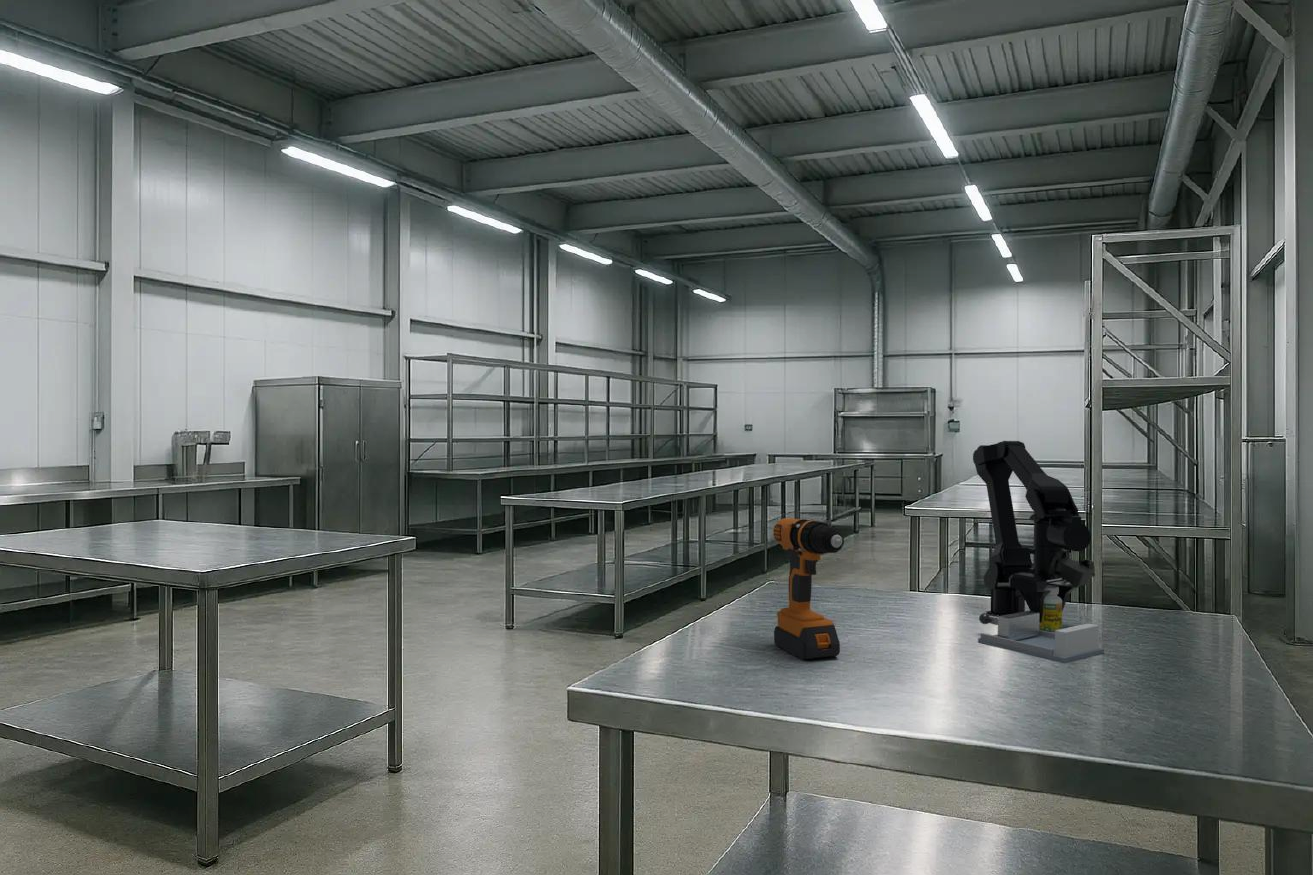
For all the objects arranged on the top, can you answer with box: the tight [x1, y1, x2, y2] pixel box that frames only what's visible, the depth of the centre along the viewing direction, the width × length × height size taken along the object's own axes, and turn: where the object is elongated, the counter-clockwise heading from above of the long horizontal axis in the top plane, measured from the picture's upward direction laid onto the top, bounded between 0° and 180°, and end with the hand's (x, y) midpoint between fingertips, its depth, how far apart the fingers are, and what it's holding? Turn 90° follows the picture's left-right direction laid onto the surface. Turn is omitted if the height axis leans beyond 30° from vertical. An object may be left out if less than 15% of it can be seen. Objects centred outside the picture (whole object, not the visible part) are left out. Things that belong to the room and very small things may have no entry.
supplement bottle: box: [1039, 585, 1063, 633], centre depth 182 cm, size 5×5×10 cm
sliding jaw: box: [978, 610, 1039, 640], centre depth 176 cm, size 10×10×4 cm
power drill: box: [772, 517, 845, 661], centre depth 163 cm, size 22×7×25 cm, turn 18°
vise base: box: [977, 623, 1105, 664], centre depth 169 cm, size 18×13×5 cm
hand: (1047, 620), depth 182 cm, fingers open, 6 cm apart
